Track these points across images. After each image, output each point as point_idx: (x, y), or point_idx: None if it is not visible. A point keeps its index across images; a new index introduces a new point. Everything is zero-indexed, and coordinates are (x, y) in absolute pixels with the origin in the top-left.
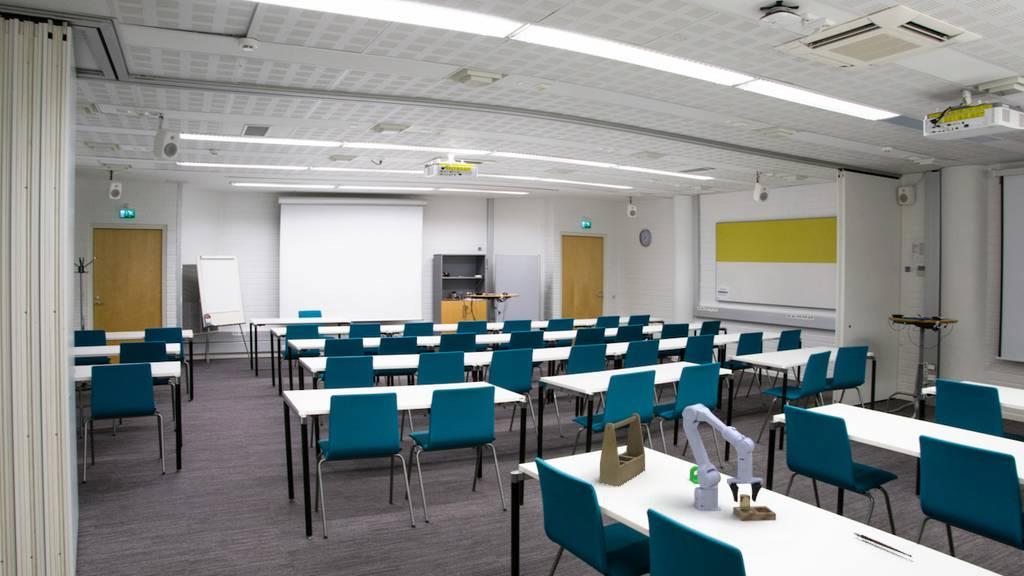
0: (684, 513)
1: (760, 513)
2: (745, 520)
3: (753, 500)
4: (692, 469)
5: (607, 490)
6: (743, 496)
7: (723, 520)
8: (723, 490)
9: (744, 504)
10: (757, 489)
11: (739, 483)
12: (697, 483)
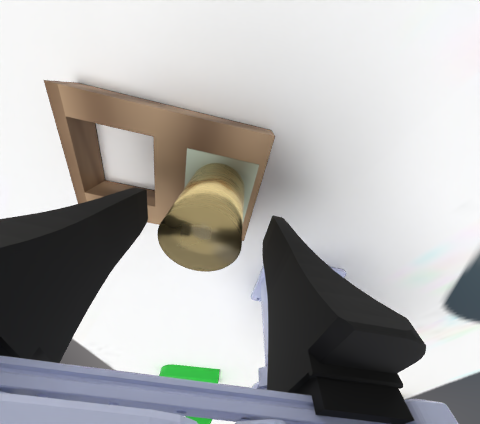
0: (419, 267)
1: (150, 117)
2: (253, 126)
3: (144, 201)
4: (210, 422)
5: (419, 390)
6: (223, 233)
7: (354, 164)
8: (166, 345)
9: (231, 187)
10: (13, 230)
11: (255, 395)
12: (212, 376)
